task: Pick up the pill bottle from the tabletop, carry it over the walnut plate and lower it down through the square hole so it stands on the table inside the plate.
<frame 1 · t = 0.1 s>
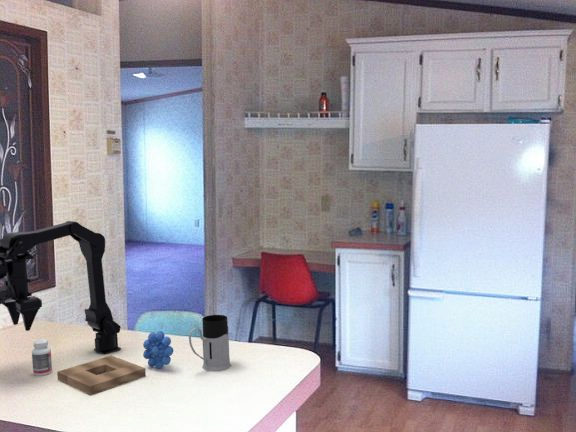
hand: (21, 327, 195), 14 cm above the kitchen counter, tool pointing down, fingers open, 9 cm apart
glass holder: (209, 369, 197), on the kitchen counter
hole plate: (101, 378, 192), on the kitchen counter
grapes: (161, 368, 199), on the kitchen counter
pill bottle: (42, 373, 198), on the kitchen counter
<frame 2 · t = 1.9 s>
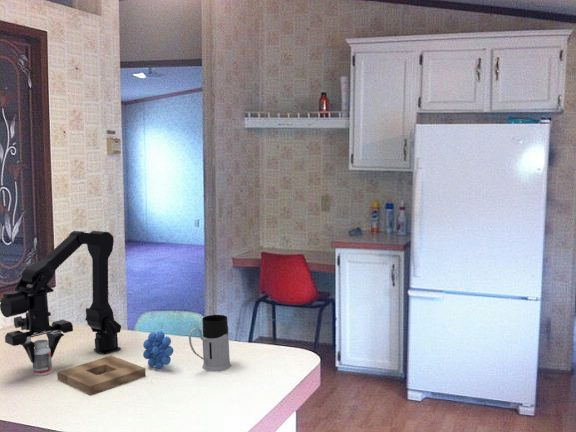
hand: (41, 360, 197), 4 cm above the kitchen counter, tool pointing down, fingers closed on pill bottle, 5 cm apart
pill bottle: (42, 373, 198), on the kitchen counter, touching gripper
everything else where it was.
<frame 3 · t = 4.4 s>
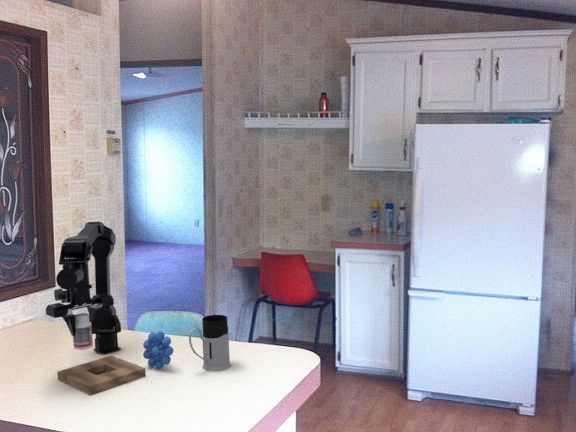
hand: (82, 333, 192), 13 cm above the kitchen counter, tool pointing down, fingers closed on pill bottle, 5 cm apart
pill bottle: (83, 348, 192), point 9 cm above the kitchen counter, touching gripper
everything else where it was.
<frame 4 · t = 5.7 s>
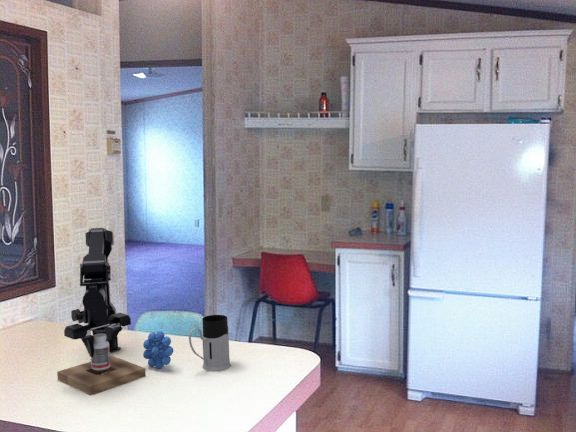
hand: (100, 354, 191), 7 cm above the kitchen counter, tool pointing down, fingers closed on pill bottle, 5 cm apart
pill bottle: (101, 368, 192), point 3 cm above the kitchen counter, touching gripper
everything else where it was.
when the fingers open (5 cm above the kitchen counter, at t = 6.8 s): pill bottle stays where it is, resting in hole plate.
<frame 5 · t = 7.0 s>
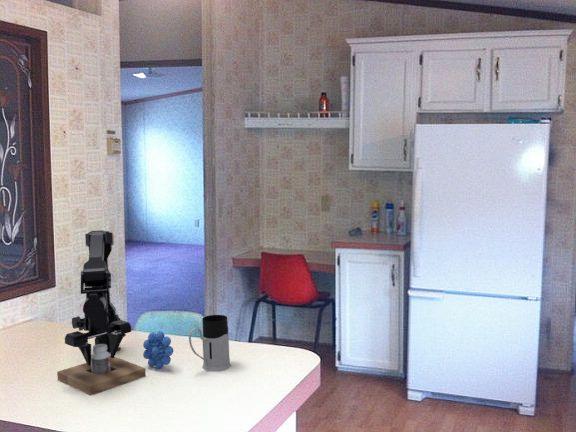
hand: (100, 361, 191), 5 cm above the kitchen counter, tool pointing down, fingers open, 7 cm apart
pill bottle: (101, 378, 192), resting in hole plate
everything else where it was.
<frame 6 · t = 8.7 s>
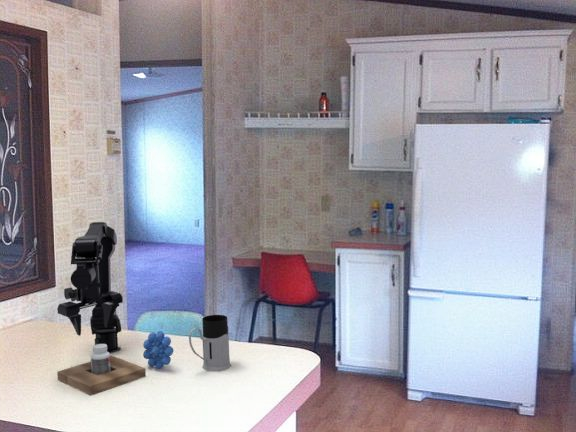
hand: (92, 331, 196), 13 cm above the kitchen counter, tool pointing down, fingers open, 9 cm apart
nothing on the kitchen counter moved.
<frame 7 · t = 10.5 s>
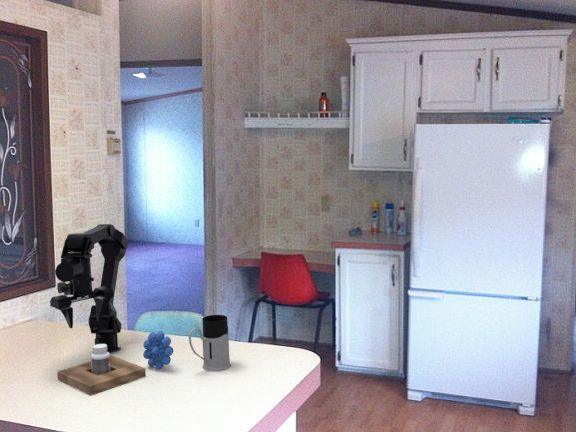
hand: (84, 324, 201), 13 cm above the kitchen counter, tool pointing down, fingers open, 9 cm apart
nothing on the kitchen counter moved.
at the end: pill bottle 0.1 cm from the hole plate (horizontally); pill bottle touching kitchen counter; pill bottle tilted 0° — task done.
